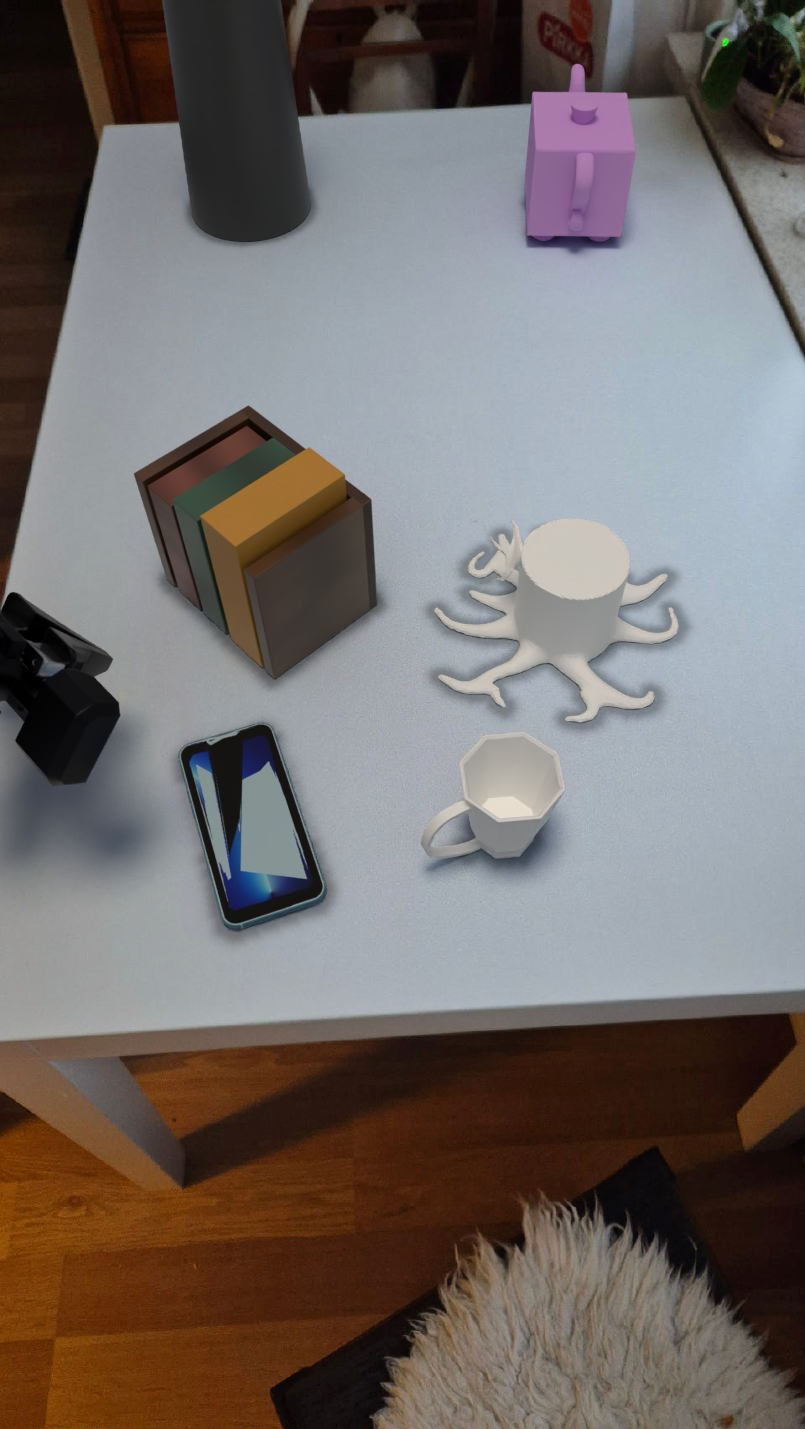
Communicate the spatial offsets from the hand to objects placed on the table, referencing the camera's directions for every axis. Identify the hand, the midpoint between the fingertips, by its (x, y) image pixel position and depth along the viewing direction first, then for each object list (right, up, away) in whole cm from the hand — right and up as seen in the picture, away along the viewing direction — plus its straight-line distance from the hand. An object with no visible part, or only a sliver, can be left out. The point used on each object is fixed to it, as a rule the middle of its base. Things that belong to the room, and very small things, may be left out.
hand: (107, 661), depth 70 cm
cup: (+26, -13, +2) cm, 29 cm away
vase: (+3, +55, +46) cm, 72 cm away
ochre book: (+12, +4, +13) cm, 18 cm away
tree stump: (+33, +3, +12) cm, 35 cm away
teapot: (+39, +53, +45) cm, 80 cm away
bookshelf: (+9, +7, +14) cm, 18 cm away
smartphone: (+10, -12, +2) cm, 15 cm away
